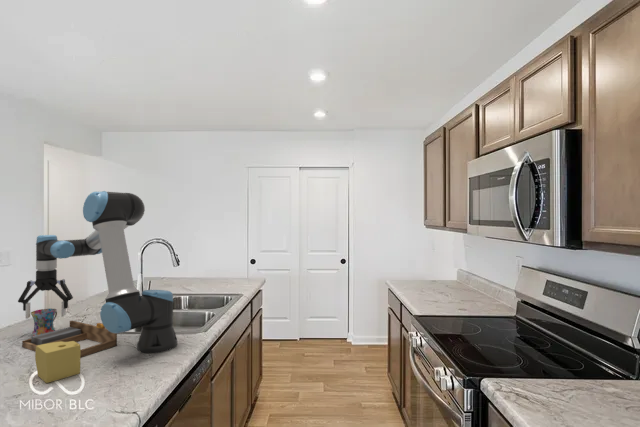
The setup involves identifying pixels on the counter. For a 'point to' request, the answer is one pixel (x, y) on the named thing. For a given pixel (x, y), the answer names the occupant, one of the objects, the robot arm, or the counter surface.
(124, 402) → the counter surface
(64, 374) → the cheese
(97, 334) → the rack
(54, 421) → the counter surface
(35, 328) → the mug
